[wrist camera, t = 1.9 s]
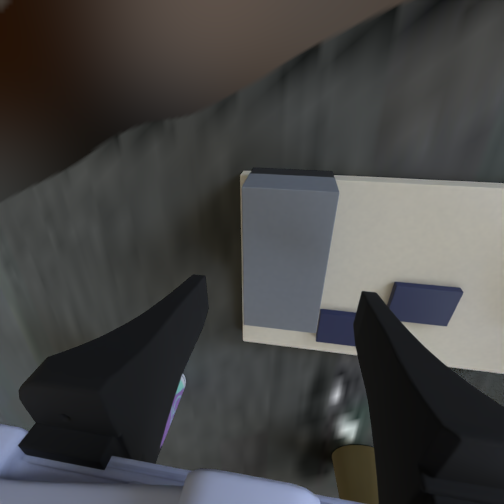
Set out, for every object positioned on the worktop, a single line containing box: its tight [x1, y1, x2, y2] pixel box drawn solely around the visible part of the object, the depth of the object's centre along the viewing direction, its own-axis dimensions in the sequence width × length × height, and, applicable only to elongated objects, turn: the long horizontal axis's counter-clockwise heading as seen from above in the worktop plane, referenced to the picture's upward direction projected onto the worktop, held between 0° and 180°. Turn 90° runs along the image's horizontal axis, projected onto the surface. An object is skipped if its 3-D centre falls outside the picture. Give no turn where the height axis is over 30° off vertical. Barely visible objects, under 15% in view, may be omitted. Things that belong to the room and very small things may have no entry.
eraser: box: [242, 168, 339, 333], centre depth 17 cm, size 9×4×4 cm, turn 0°
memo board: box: [240, 171, 504, 374], centre depth 20 cm, size 20×14×1 cm
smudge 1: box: [387, 282, 464, 326], centre depth 19 cm, size 4×3×1 cm
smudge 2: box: [316, 309, 356, 347], centre depth 21 cm, size 4×3×1 cm
